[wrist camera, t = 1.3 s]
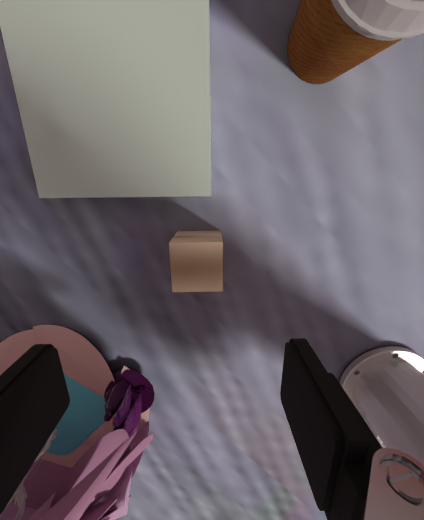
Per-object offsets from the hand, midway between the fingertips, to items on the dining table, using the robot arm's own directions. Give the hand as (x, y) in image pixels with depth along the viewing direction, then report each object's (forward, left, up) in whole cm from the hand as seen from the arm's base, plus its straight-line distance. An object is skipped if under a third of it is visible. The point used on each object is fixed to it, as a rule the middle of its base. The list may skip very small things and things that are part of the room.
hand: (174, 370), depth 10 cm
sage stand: (+15, +7, -19) cm, 25 cm away
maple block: (0, 0, -19) cm, 19 cm away
